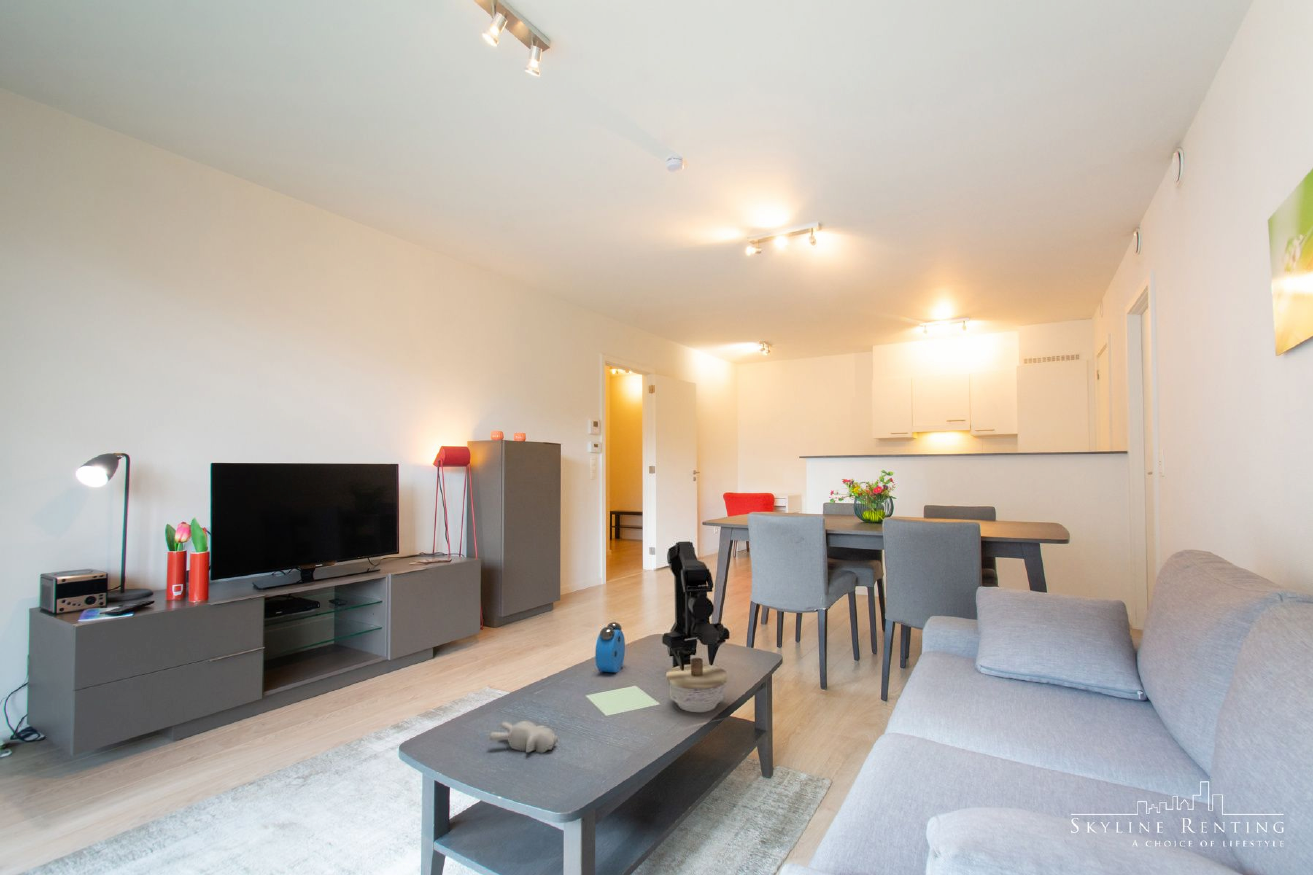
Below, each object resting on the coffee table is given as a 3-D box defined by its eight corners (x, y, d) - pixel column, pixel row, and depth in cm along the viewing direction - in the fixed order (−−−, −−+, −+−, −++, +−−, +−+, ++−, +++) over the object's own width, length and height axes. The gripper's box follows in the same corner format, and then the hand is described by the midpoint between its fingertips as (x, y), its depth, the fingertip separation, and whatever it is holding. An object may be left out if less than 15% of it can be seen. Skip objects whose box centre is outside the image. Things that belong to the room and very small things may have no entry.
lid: (655, 673, 169) (655, 655, 169) (707, 663, 176) (706, 646, 176) (685, 693, 153) (684, 673, 154) (740, 681, 161) (739, 663, 161)
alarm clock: (608, 664, 201) (608, 619, 202) (626, 665, 199) (625, 620, 200) (594, 677, 188) (594, 629, 189) (613, 679, 187) (613, 630, 188)
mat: (585, 697, 172) (585, 695, 172) (635, 687, 179) (635, 685, 179) (606, 717, 158) (606, 715, 158) (660, 706, 165) (660, 704, 165)
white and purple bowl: (705, 723, 154) (705, 691, 154) (658, 709, 163) (658, 679, 163) (735, 704, 166) (734, 675, 166) (690, 692, 175) (689, 664, 176)
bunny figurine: (547, 741, 136) (487, 727, 139) (544, 763, 136) (485, 749, 139) (562, 723, 145) (506, 711, 149) (560, 744, 145) (504, 732, 148)
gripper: (680, 621, 154) (681, 682, 154) (740, 612, 163) (741, 670, 162) (661, 612, 164) (661, 669, 164) (718, 604, 173) (719, 659, 172)
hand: (696, 667), depth 165 cm, fingers open, 9 cm apart
